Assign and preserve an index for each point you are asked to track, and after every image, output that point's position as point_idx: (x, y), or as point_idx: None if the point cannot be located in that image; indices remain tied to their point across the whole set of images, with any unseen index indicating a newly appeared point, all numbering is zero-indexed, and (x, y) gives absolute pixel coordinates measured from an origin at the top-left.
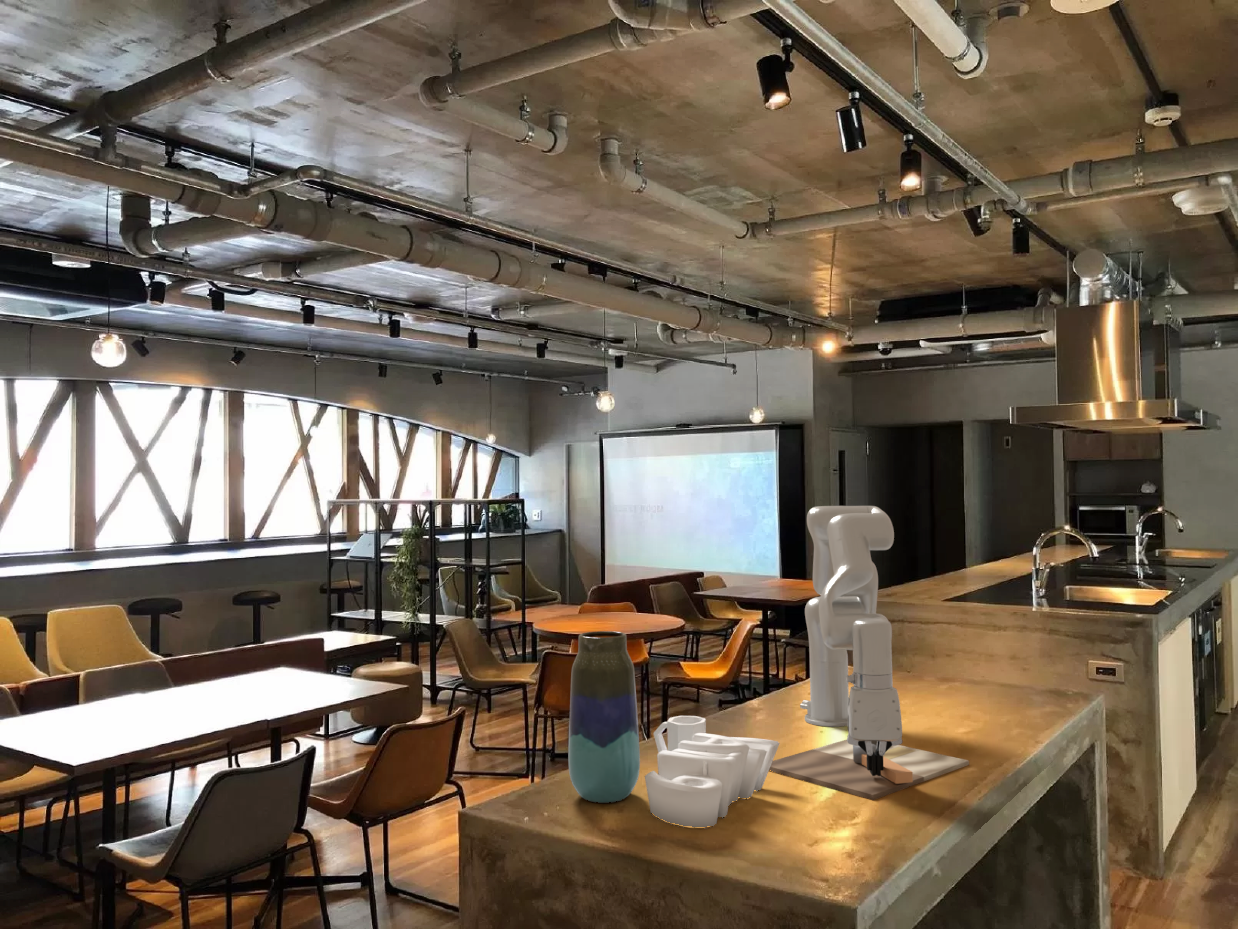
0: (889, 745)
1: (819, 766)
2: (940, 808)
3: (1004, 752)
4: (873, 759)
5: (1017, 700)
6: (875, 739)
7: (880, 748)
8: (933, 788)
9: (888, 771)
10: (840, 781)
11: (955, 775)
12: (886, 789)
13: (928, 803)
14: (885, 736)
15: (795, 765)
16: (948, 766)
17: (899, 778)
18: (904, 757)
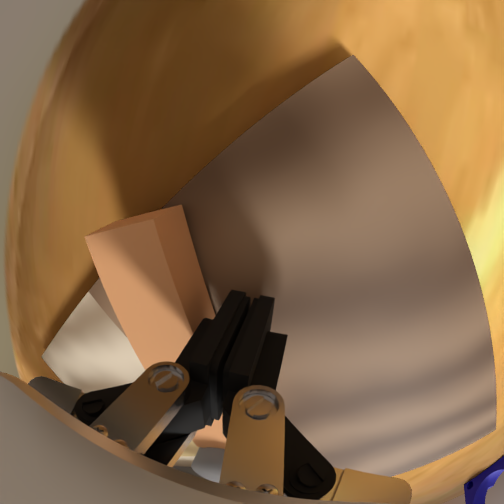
0: (94, 398)
1: (392, 433)
2: (114, 8)
3: (32, 374)
4: (247, 355)
5: None
6: (161, 482)
7: (162, 406)
8: (79, 216)
9: (184, 291)
10: (431, 297)
11: (50, 310)
12: (251, 134)
13: (127, 43)
14: (41, 446)
15: (443, 434)
16: (56, 344)
17: (151, 214)
18: None
